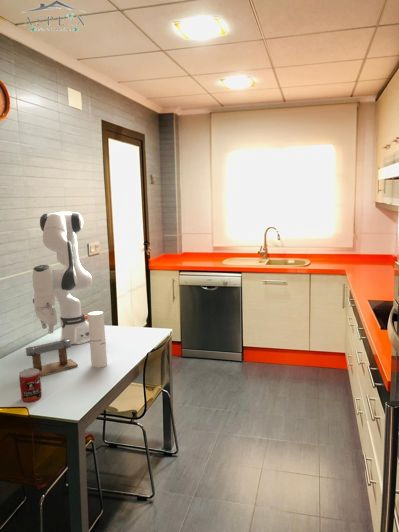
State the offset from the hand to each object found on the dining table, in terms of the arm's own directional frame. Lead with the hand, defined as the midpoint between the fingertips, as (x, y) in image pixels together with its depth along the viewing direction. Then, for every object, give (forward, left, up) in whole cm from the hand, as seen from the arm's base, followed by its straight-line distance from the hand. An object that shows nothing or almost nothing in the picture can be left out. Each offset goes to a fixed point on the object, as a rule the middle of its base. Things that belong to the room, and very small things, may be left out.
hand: (47, 330), depth 207 cm
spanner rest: (0, 0, -19) cm, 19 cm away
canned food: (+16, +26, -19) cm, 36 cm away
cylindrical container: (-20, +9, -19) cm, 29 cm away
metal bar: (0, 0, -9) cm, 9 cm away
